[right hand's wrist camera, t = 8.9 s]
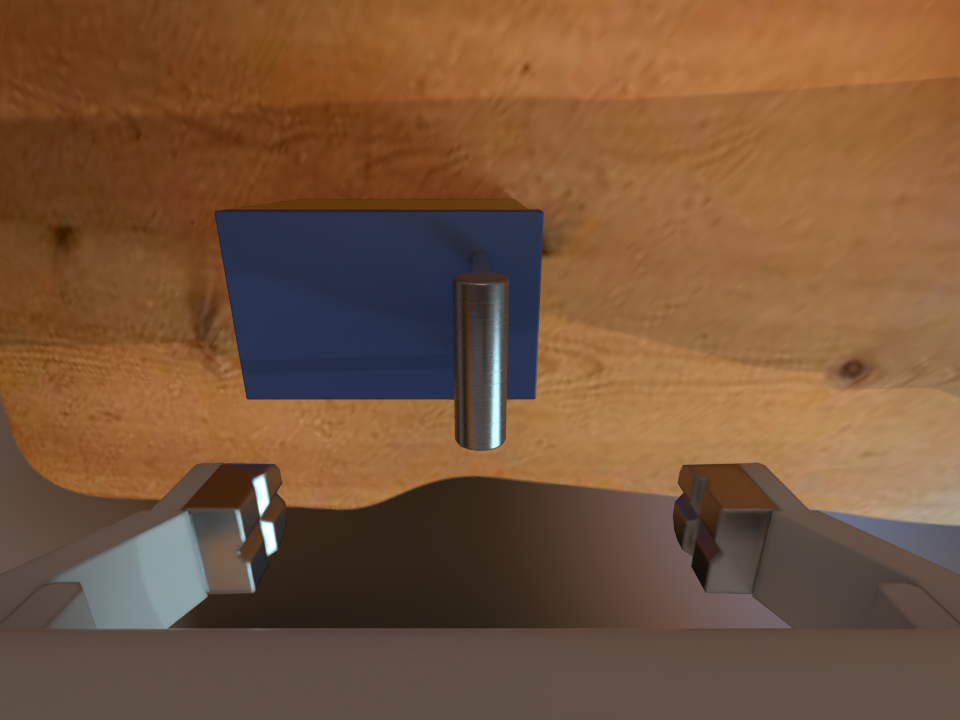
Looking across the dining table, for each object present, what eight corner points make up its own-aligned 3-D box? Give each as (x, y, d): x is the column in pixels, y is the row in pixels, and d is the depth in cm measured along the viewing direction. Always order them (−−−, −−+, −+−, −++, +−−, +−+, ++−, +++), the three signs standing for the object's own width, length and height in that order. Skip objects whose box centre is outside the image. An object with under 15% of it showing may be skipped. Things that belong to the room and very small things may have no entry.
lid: (540, 209, 23) (575, 228, 15) (533, 390, 26) (558, 490, 18) (226, 209, 23) (84, 228, 15) (256, 390, 26) (152, 491, 18)
